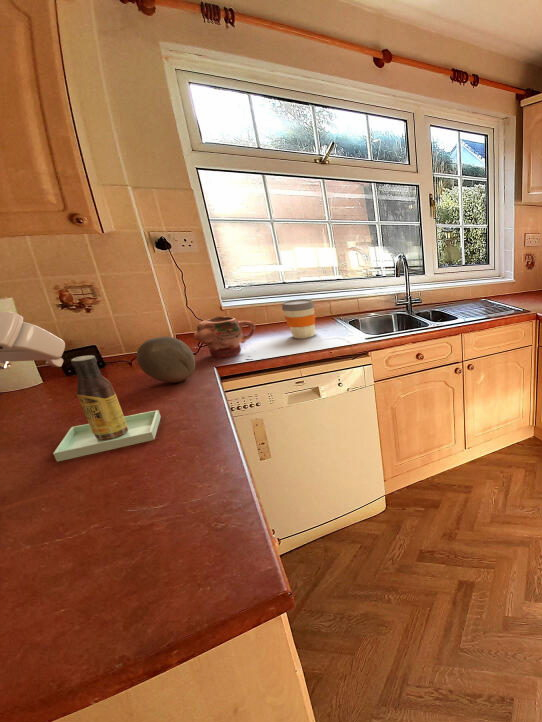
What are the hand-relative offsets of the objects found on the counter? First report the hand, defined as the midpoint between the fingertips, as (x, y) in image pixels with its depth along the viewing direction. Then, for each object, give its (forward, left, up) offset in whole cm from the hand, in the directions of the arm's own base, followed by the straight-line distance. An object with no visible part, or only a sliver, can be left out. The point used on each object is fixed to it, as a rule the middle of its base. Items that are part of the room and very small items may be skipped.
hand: (32, 364), depth 85 cm
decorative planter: (+31, +72, -23) cm, 82 cm away
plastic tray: (+5, +9, -22) cm, 25 cm away
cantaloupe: (+14, +47, -23) cm, 54 cm away
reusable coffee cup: (+59, +84, -23) cm, 105 cm away
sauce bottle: (+5, +9, -22) cm, 24 cm away
